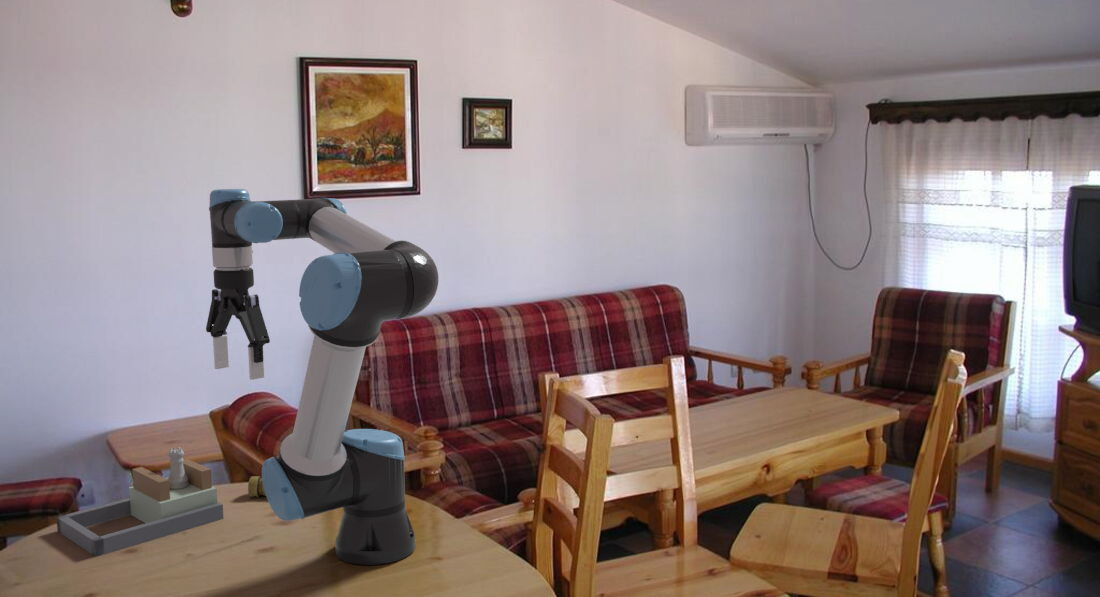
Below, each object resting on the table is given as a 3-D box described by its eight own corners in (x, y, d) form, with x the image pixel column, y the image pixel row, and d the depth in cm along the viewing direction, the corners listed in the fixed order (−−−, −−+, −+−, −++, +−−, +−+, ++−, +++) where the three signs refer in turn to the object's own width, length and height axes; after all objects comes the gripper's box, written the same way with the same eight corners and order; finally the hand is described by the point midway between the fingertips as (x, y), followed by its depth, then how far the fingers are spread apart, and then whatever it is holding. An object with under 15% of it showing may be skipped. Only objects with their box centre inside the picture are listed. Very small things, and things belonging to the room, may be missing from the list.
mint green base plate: (218, 516, 208) (215, 469, 206) (162, 532, 199) (159, 484, 198) (185, 499, 217) (182, 455, 216) (131, 514, 209) (127, 468, 207)
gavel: (272, 456, 241) (314, 455, 241) (272, 474, 241) (314, 474, 241) (247, 479, 220) (293, 478, 220) (248, 499, 220) (293, 499, 221)
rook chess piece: (179, 491, 205) (177, 453, 204) (161, 488, 207) (159, 451, 206) (194, 484, 209) (192, 447, 208) (176, 481, 211) (174, 445, 210)
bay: (223, 523, 207) (222, 504, 206) (96, 561, 188) (94, 541, 187) (181, 502, 219) (180, 484, 218) (58, 536, 200) (56, 517, 200)
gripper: (284, 271, 192) (289, 379, 195) (218, 261, 209) (224, 360, 212) (249, 275, 187) (255, 386, 190) (184, 264, 204) (191, 366, 207)
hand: (239, 373), depth 201 cm, fingers open, 13 cm apart
